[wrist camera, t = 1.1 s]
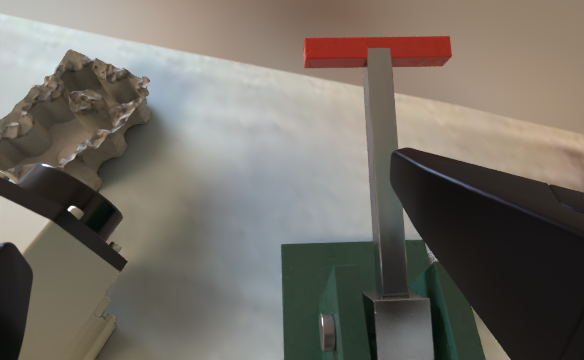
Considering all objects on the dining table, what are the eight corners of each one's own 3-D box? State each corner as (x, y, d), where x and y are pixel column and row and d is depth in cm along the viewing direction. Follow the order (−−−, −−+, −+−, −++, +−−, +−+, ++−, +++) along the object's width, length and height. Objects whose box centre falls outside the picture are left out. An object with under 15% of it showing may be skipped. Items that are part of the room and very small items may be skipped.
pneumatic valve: (170, 265, 23) (76, 159, 13) (32, 482, 18) (-325, 603, 7) (99, 231, 24) (-40, 108, 14) (-52, 425, 19) (-465, 462, 8)
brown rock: (82, 216, 25) (48, 186, 21) (-4, 178, 26) (-49, 144, 23) (168, 105, 30) (152, 67, 26) (92, 78, 31) (67, 38, 28)
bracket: (281, 250, 24) (279, 182, 16) (418, 246, 24) (479, 177, 16) (287, 488, 18) (289, 558, 10) (470, 478, 18) (605, 538, 10)
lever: (302, 56, 18) (305, 28, 15) (434, 54, 18) (457, 26, 16) (313, 359, 16) (319, 381, 13) (462, 353, 16) (494, 374, 14)
